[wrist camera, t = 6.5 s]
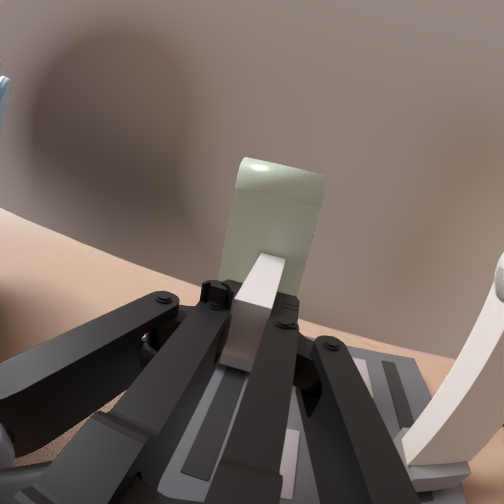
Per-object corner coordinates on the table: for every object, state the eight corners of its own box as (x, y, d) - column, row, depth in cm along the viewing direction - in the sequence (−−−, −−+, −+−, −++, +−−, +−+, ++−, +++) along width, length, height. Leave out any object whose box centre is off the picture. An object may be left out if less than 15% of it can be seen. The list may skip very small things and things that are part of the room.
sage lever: (271, 377, 19) (329, 176, 15) (201, 357, 19) (238, 155, 15) (277, 346, 23) (325, 175, 19) (217, 329, 23) (251, 158, 19)
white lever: (458, 486, 9) (594, 287, 5) (393, 493, 10) (549, 261, 6) (445, 443, 13) (549, 260, 9) (386, 442, 14) (496, 234, 10)
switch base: (452, 547, 6) (474, 534, 6) (106, 510, 9) (98, 497, 8) (405, 373, 25) (414, 357, 25) (214, 330, 28) (217, 311, 27)
